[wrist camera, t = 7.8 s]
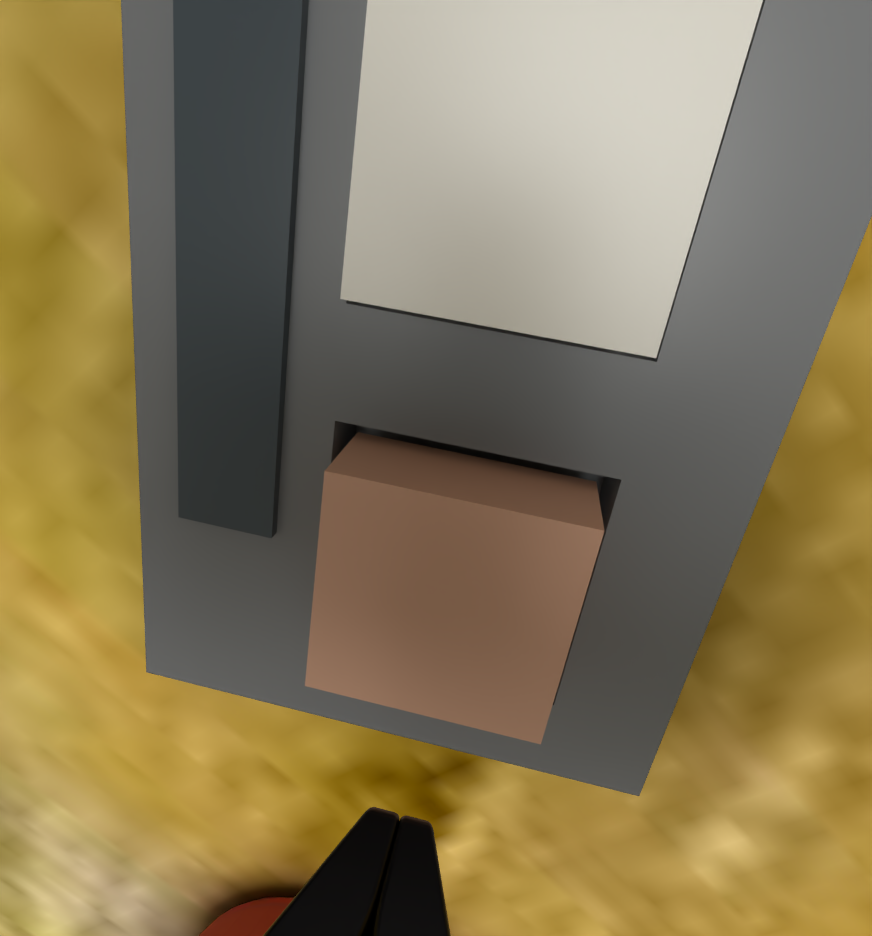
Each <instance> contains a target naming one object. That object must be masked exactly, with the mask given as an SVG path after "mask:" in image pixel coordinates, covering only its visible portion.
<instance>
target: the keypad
mask: <svg viewBox="0 0 872 936" xmlns="http://www.w3.org/2000/svg"><path fill="white" fill-rule="evenodd" d="M121 10H122V37H123V63H124V90H125V116H126V143H127V169H128V196H129V222H130V249H131V275H132V302H133V328H134V354H135V381H136V407H137V434H138V460H139V487H140V513H141V540H142V566H143V593H144V619H145V646H146V672H148V673H152V674H156V675H160V676H164V677H168V678H172V679H176V680H180V681H184V682H188V683H192V684H196V685H200V686H204V687H208V688H212V689H216V690H220V691H224V692H228V693H232V694H236V695H240V696H244V697H247V698H251V699H255V700H259V701H263V702H267V703H271V704H275V705H279V706H283V707H287V708H291V709H295V710H299V711H303V712H307V713H311V714H315V715H319V716H323V717H327V718H331V719H335V720H339V721H343V722H347V723H351V724H355V725H359V726H363V727H367V728H370V729H374V730H378V731H382V732H386V733H390V734H394V735H398V736H402V737H406V738H410V739H414V740H418V741H422V742H426V743H430V744H434V745H438V746H442V747H446V748H450V749H454V750H458V751H462V752H466V753H470V754H474V755H478V756H482V757H486V758H490V759H494V760H497V761H501V762H505V763H509V764H513V765H517V766H521V767H525V768H529V769H533V770H537V771H541V772H545V773H549V774H553V775H557V776H561V777H565V778H569V779H573V780H577V781H581V782H585V783H589V784H593V785H597V786H601V787H605V788H609V789H613V790H617V791H620V792H624V793H628V794H632V795H636V796H639V795H640V793H641V790H642V788H643V785H644V783H645V780H646V778H647V775H648V773H649V770H650V768H651V765H652V763H653V760H654V758H655V755H656V753H657V750H658V748H659V745H660V743H661V740H662V738H663V735H664V733H665V730H666V728H667V725H668V723H669V720H670V718H671V715H672V713H673V710H674V708H675V705H676V703H677V700H678V698H679V695H680V693H681V690H682V688H683V685H684V683H685V680H686V678H687V675H688V673H689V670H690V668H691V665H692V663H693V660H694V658H695V655H696V653H697V650H698V648H699V645H700V643H701V640H702V638H703V635H704V633H705V630H706V628H707V625H708V623H709V621H710V618H711V616H712V613H713V611H714V608H715V606H716V603H717V601H718V598H719V596H720V593H721V591H722V588H723V586H724V583H725V581H726V578H727V576H728V573H729V571H730V568H731V566H732V563H733V561H734V558H735V556H736V553H737V551H738V548H739V546H740V543H741V541H742V538H743V536H744V533H745V531H746V528H747V526H748V523H749V521H750V518H751V516H752V513H753V511H754V508H755V506H756V503H757V501H758V498H759V496H760V493H761V491H762V488H763V486H764V483H765V481H766V478H767V476H768V473H769V471H770V468H771V466H772V463H773V461H774V458H775V456H776V453H777V451H778V448H779V446H780V443H781V441H782V438H783V436H784V433H785V431H786V428H787V426H788V423H789V421H790V418H791V416H792V413H793V411H794V408H795V406H796V404H797V401H798V399H799V396H800V394H801V391H802V389H803V386H804V384H805V381H806V379H807V376H808V374H809V371H810V369H811V366H812V364H813V361H814V359H815V356H816V354H817V351H818V349H819V346H820V344H821V341H822V339H823V336H824V334H825V331H826V329H827V326H828V324H829V321H830V319H831V316H832V314H833V311H834V309H835V306H836V304H837V301H838V299H839V296H840V294H841V291H842V289H843V286H844V284H845V281H846V279H847V276H848V274H849V271H850V269H851V266H852V264H853V261H854V259H855V256H856V254H857V251H858V249H859V246H860V244H861V241H862V239H863V236H864V234H865V231H866V229H867V226H868V224H869V221H870V219H871V216H872V0H763V2H762V5H761V9H760V12H759V15H758V19H757V22H756V25H755V29H754V32H753V35H752V39H751V42H750V45H749V49H748V52H747V55H746V59H745V62H744V66H743V69H742V72H741V76H740V79H739V82H738V86H737V89H736V92H735V96H734V99H733V102H732V106H731V109H730V112H729V116H728V119H727V122H726V126H725V129H724V133H723V136H722V139H721V143H720V146H719V149H718V153H717V156H716V159H715V163H714V166H713V169H712V173H711V176H710V179H709V183H708V186H707V189H706V193H705V196H704V199H703V203H702V206H701V210H700V213H699V216H698V220H697V223H696V226H695V230H694V233H693V236H692V240H691V243H690V246H689V250H688V253H687V256H686V260H685V263H684V266H683V270H682V273H681V277H680V280H679V283H678V287H677V290H676V293H675V297H674V300H673V303H672V307H671V310H670V313H669V317H668V320H667V323H666V327H665V330H664V333H663V337H662V340H661V343H660V347H659V350H658V354H657V357H656V358H652V357H647V356H642V355H636V354H631V353H626V352H620V351H615V350H610V349H604V348H599V347H594V346H588V345H583V344H578V343H572V342H567V341H562V340H557V339H551V338H546V337H541V336H535V335H530V334H525V333H519V332H514V331H509V330H503V329H498V328H493V327H487V326H482V325H477V324H471V323H466V322H461V321H455V320H450V319H445V318H439V317H434V316H429V315H423V314H418V313H413V312H407V311H402V310H397V309H392V308H386V307H381V306H376V305H370V304H365V303H360V302H354V301H349V300H344V299H340V296H341V285H342V274H343V263H344V252H345V241H346V230H347V219H348V208H349V197H350V186H351V175H352V165H353V154H354V143H355V132H356V121H357V110H358V99H359V88H360V77H361V66H362V55H363V44H364V33H365V22H366V11H367V0H121ZM358 432H360V433H365V434H370V435H374V436H379V437H384V438H389V439H394V440H398V441H403V442H408V443H413V444H418V445H423V446H427V447H432V448H437V449H442V450H447V451H451V452H456V453H461V454H466V455H471V456H476V457H480V458H485V459H490V460H495V461H500V462H504V463H509V464H514V465H519V466H524V467H529V468H533V469H538V470H543V471H548V472H553V473H557V474H562V475H567V476H572V477H577V478H582V479H586V480H591V481H596V482H597V488H598V494H599V500H600V506H601V513H602V519H603V525H604V534H603V538H602V541H601V544H600V548H599V551H598V554H597V558H596V561H595V564H594V568H593V571H592V575H591V578H590V581H589V585H588V588H587V591H586V595H585V598H584V601H583V605H582V608H581V611H580V615H579V618H578V621H577V625H576V628H575V631H574V635H573V638H572V642H571V645H570V648H569V652H568V655H567V658H566V662H565V665H564V668H563V672H562V675H561V678H560V682H559V685H558V688H557V692H556V695H555V698H554V702H553V705H552V708H551V712H550V715H549V719H548V722H547V725H546V729H545V732H544V735H543V739H542V742H541V744H537V743H533V742H529V741H525V740H521V739H517V738H513V737H509V736H505V735H500V734H496V733H492V732H488V731H484V730H480V729H476V728H472V727H468V726H464V725H460V724H456V723H452V722H448V721H444V720H440V719H436V718H432V717H428V716H424V715H420V714H416V713H412V712H408V711H404V710H400V709H396V708H392V707H388V706H384V705H380V704H376V703H371V702H367V701H363V700H359V699H355V698H351V697H347V696H343V695H339V694H335V693H331V692H327V691H323V690H319V689H315V688H311V687H307V686H305V679H306V668H307V657H308V646H309V635H310V624H311V613H312V602H313V591H314V581H315V570H316V559H317V548H318V537H319V526H320V515H321V504H322V493H323V482H324V471H325V470H326V469H327V467H328V466H329V465H330V464H331V463H332V462H333V460H334V459H335V458H336V457H337V456H338V455H339V453H340V452H341V451H342V450H343V449H344V448H345V446H346V445H347V444H348V443H349V442H350V441H351V440H352V438H353V437H354V436H355V435H356V434H357V433H358Z"/></svg>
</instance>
